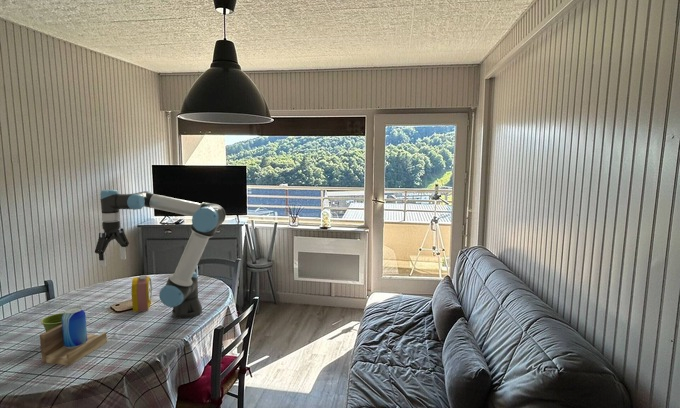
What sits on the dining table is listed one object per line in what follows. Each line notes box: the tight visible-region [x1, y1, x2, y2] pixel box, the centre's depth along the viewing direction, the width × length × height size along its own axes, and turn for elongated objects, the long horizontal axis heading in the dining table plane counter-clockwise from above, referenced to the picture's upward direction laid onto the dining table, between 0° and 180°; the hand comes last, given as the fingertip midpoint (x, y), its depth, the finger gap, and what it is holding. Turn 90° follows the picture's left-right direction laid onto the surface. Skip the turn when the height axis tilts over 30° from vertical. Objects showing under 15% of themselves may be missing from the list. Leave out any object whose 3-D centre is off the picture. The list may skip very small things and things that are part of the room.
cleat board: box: [39, 324, 108, 366], centre depth 165 cm, size 13×20×12 cm, turn 171°
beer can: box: [62, 306, 88, 349], centre depth 164 cm, size 8×8×16 cm
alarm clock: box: [131, 274, 153, 313], centre depth 214 cm, size 15×8×18 cm, turn 20°
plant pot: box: [40, 312, 64, 332], centre depth 174 cm, size 12×12×11 cm
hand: (113, 262), depth 191 cm, fingers open, 13 cm apart
